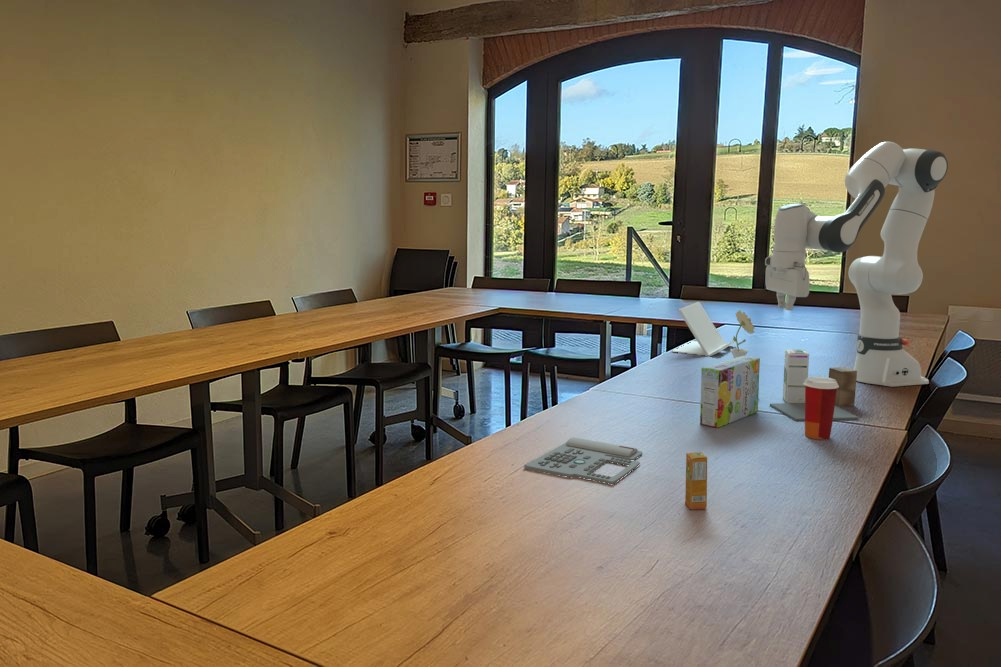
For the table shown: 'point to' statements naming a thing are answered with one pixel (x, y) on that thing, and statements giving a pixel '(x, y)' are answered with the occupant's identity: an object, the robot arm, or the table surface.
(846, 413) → the mat
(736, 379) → the snack box
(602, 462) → the office telephone
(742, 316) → the flower in vase
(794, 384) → the syrup box
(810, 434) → the paper cup
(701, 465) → the supplement box
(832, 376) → the walnut block
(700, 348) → the tablet stand
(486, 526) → the table surface
